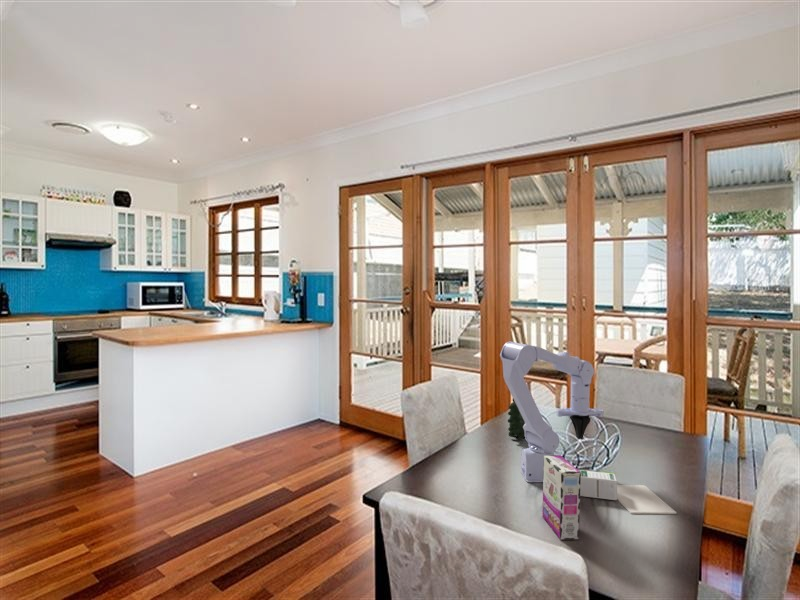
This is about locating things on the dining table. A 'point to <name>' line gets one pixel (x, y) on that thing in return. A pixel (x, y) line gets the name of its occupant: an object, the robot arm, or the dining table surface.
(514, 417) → the dark green lumpy piece
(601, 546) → the dining table surface
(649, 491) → the cream white mat
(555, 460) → the candy bar box
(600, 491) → the syrup box
